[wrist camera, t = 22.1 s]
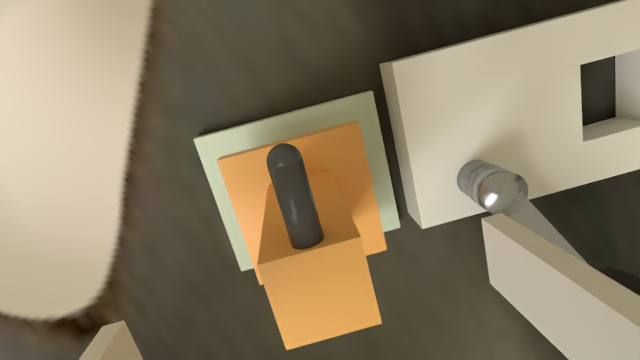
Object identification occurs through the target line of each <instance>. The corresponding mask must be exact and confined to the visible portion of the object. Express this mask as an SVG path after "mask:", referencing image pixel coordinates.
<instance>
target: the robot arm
mask: <svg viewBox="0 0 640 360" xmlns="http://www.w3.org/2000/svg"><path fill="white" fill-rule="evenodd" d="M481 221H482V228H483V235H484V243H485V250H486V257H487V265H488V272H489V279H490V284H491V285H492V286H493V287H494V288H495V289H496V290H497V291H498V292H500V293H501V294H502V295H503V296H504V297H505V298H506V299H507V300H508V301H509V302H510V303H511V304H512V305H513V306H514V307H515V308H516V309H517V310H518V311H519V312H520V313H521V314H522V315H523V316H524V317H525V318H526V319H527V320H529V321H530V322H531V323H532V324H533V325H534V326H535V327H536V328H537V329H538V330H539V331H540V332H541V333H542V334H543V335H544V336H545V337H546V338H547V339H548V340H549V341H550V342H551V343H552V344H553V345H554V346H555V347H556V348H557V349H559V350H560V351H561V352H562V353H563V354H564V355H565V356H566V357H567V358H568V359H569V360H640V278H638V277H636V276H634V275H632V274H629V273H625V272H622V271H619V270H616V269H612V268H606V269H602V270H599V271H597V270H596V269H594V268H592V267H591V266H589V265H587V264H586V263H584V262H582V261H581V260H579V259H577V258H576V257H574V256H572V255H571V254H569V253H567V252H566V251H564V250H562V249H561V248H559V247H557V246H556V245H554V244H552V243H551V242H549V241H547V240H546V239H544V238H542V237H541V236H539V235H537V234H536V233H534V232H532V231H531V230H529V229H527V228H526V227H524V226H522V225H521V224H519V223H517V222H516V221H514V220H512V219H511V218H509V217H507V216H506V215H504V214H502V213H499V214H495V215H492V216H488V217H485V218H481ZM79 360H143V358H142V356H141V354H140V352H139V350H138V348H137V346H136V344H135V342H134V340H133V338H132V336H131V334H130V332H129V329H128V327H127V325H126V323H125V321H124V320H123V321H120V322H116V323H113V324H109V325H106V326H102V328H101V329H100V331H99V332H98V333H97V335H96V336H95V338H94V339H93V340H92V342H91V343H90V345H89V346H88V347H87V349H86V350H85V352H84V353H83V354H82V356H81V357H80V359H79Z"/></svg>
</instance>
